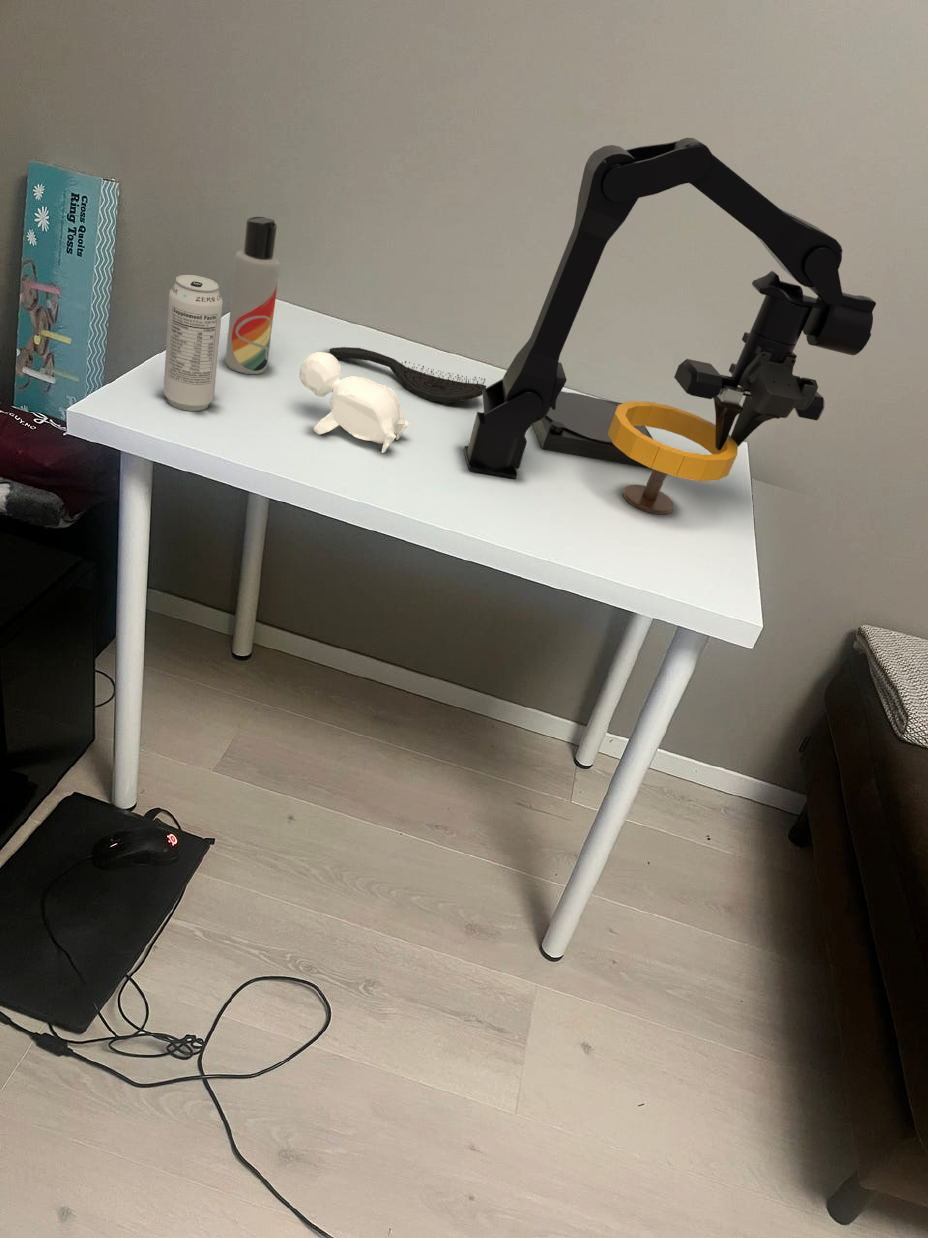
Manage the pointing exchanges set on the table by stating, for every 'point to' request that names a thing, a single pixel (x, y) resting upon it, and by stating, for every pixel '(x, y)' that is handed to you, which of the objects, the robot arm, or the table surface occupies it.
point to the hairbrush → (417, 377)
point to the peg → (650, 495)
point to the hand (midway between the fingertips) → (723, 450)
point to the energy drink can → (192, 342)
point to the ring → (667, 456)
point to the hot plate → (582, 428)
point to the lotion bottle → (253, 299)
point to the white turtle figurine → (353, 401)
